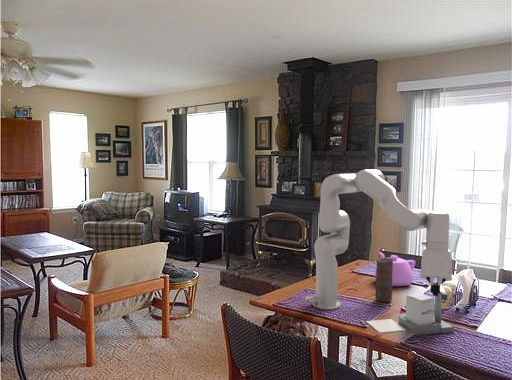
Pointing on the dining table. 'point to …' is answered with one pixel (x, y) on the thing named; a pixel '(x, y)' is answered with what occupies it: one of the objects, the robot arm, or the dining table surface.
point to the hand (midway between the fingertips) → (435, 294)
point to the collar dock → (436, 327)
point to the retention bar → (442, 293)
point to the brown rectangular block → (384, 279)
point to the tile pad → (385, 326)
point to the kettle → (401, 271)
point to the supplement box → (419, 309)
